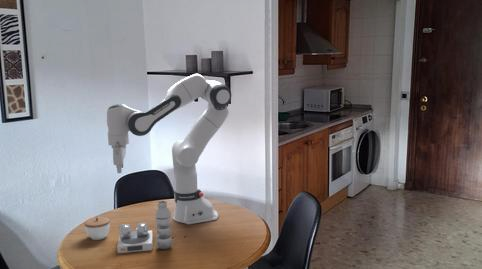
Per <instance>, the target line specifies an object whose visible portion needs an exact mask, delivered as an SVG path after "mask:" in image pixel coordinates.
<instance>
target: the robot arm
mask: <svg viewBox="0 0 482 269" xmlns="http://www.w3.org/2000/svg"><path fill="white" fill-rule="evenodd" d="M199 98H202V99H203V100H205V101H206V102H207V107H206V109H205V110H204V112H203V113H202V114H200V116H199V117H198V118H197V120H196V121H194V123H193V125H192V126H191V127H190V130H189V131H188V134H186V136H185V138H184V139H178V140H176V141H175V142H174V143H173V145H172V147H171V155H172V166H173V173H174V192H173V196H174V203H175V205H174V212H173V217H172V219H173V220H174V221H175V222H178V223H183V224H186V225H193V224H198V223H204V222H211V221H216V220H218V218H219V213H218V212H217V210H215V209H214V206H213V204H212V201H209V200H208V199H207V198H205V197H204V193H203V191H202V190H201V189H200V188H199V189H198V173H197V167H196V164H197V163H198V162H199V159H200V157H201V155H202V153H203V152H204V150H205V148H206V147H207V145H208V144H209V142H210V141H211V140H212V138H213V137H214V136H215V134H216V133H217V132H218V131H219V129H221V127H222V125H223V124H224V123H225V121H226V120H227V118H228V116H229V109H228V107H229V104H230V102H231V99H232V91H231V89H230V88H229V87H228V86H227V85H226V84H224V83H222V82H220V81H216V80H214V79H206V78H205V77H204V76H203V75H201V74H199V73H194V74H192V75H190V76H187V77H185V78H183V79H181V80H180V81H179V80H178V82H176V83H175V84H173V85H172V86H171V87H170V88H169V89H168V90H167V91H166V95H165V97H164V99H163V100H162V101H161V102H159V103H158V104H156V105H154V106H153V107H151V108H150V109H148V110H146V111H144V112H143V111H141V110H137V109H135V108H134V109H133V108H132V107H130V106H127V105H126V104H124V103H119V104H113V105H111V106H109V107H108V109H107V111H106V126H107V129H108V131H107V140H108V141H107V142H108V146H111V149H112V161H113V166H116V172H117V174H122V171H123V170H122V168H124V159H125V157H126V150H127V145H129V144H130V143H129V142H130V140H129V139H130V138H129V132H130V133H132V134H133V135H135V136H136V137H143V136H146V135H147V134H149V133H150V132H151V131H152V129H153V127H154V126H155V125H156V124H157V123H158V122H160V121H162V119H164V118H165V117H166V116H169V115H170V114H172V113H173V112H175V111H178V109H181V108H183V107H186V106H187V105H189V104H190V103H192V102H194V101H195V100H196V99H199Z"/></svg>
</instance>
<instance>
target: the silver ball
mask: <svg viewBox="0 0 482 269" xmlns="http://www.w3.org/2000/svg"><path fill="white" fill-rule="evenodd" d="M135 229H136V230H135V231H137V237H138V238H145V237H147V236H148V231H149V224H148V223H147V222H139V223H137V224H136V226H135Z"/></svg>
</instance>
